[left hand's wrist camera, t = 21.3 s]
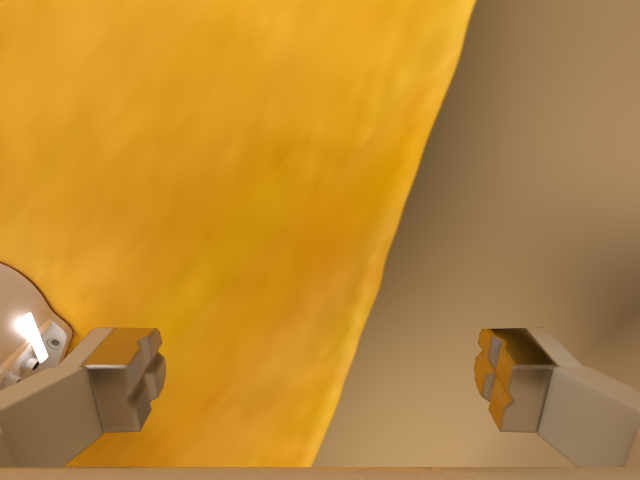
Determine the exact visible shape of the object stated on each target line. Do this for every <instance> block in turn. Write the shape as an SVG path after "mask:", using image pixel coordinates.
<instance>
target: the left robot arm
mask: <svg viewBox="0 0 640 480" xmlns="http://www.w3.org/2000/svg"><path fill="white" fill-rule="evenodd" d="M72 335H73V332H72V330H71V328H70V327H69V326H68V324H66V323H65V322H64V321H63V320H62V319H61V318H60V317H58V316H57V315H56V314H54V313H53V311H52V310H51V309H50V307H49V306H48V304H47V302H46V301H45V299H44V297H43V296H42V295H41V293H40V292H39V291H38V289H37V288H36V287H35V286H34V285H33V284H32V283H31V282H30V281H29V280H28V279H26V278H25V277H24V276H23V275H21V274H20V273H18V272H17V271H15V270H14V269H12V268H10V267H8V266H6V265H4V264H2V263H0V480H640V391H639V390H637V389H635V388H633V387H631V386H629V385H627V384H625V383H623V382H620V381H618V380H616V379H614V378H612V377H610V376H608V375H606V374H603V373H601V372H599V371H597V370H595V369H593V368H591V367H583V366H582V365H581V364H580V363H579V362H578V361H577V360H576V359H575V358H574V357H573V356H572V355H571V354H570V353H569V352H568V350H567V349H566V348H565V347H564V346H563V345H562V344H561V343H560V342H559V341H558V340H557V339H556V338H555V337H554V336H553V335H552V334H551V333H550V332H549V331H548V329H545V328H543V327H534V328H507V329H482V330H481V332H480V335H479V340H478V344H479V346H480V347H481V349H482V352H481V353H480V354H479V355H478V356H477V357H476V358H475V366H474V374H475V382H476V385H477V389H478V391H479V393H480V395H481V396H482V397H483V398H485V399H486V400H488V401H489V402H490V404H489V412H490V414H491V416H492V417H493V419H494V421H495V423H496V425H497V427H498V429H499V431H500V432H529V433H537V435H539V436H540V437H541V438H542V439H543V440H545V441H546V442H547V443H548V444H550V445H551V446H552V447H553V448H554V449H556V450H557V451H558V452H559V453H561V454H562V455H563V456H564V457H566V458H567V459H568V460H569V461H570V462H572V463H573V464H574V465H575V466H577V467H64V466H65V465H66V464H67V463H68V462H70V461H71V460H72V459H73V458H75V457H76V456H77V455H78V454H80V453H81V452H82V451H83V450H84V449H86V448H87V447H88V446H89V445H91V444H92V443H93V442H94V441H96V440H97V439H98V438H99V437H101V436H102V435H103V433H111V432H140V431H141V429H142V427H143V425H144V423H145V421H146V419H147V418H148V416H149V414H150V412H151V404H150V402H151V401H152V400H154V399H155V398H157V397H158V396H159V395H160V393H161V391H162V388H163V385H164V381H165V376H166V365H165V358H164V357H163V356H162V355H161V354H160V353H159V352H158V349H159V347H160V346H161V344H162V340H161V335H160V332H159V331H158V330H157V329H156V328H115V327H105V328H95V329H93V330H92V331H91V332H90V333H89V334H88V335H87V336H86V337H85V338H84V339H83V340H82V341H81V342H80V343H79V344H78V345H77V346H76V347H75V348H74V349H73V351H72V352H71V353H70V354H69V355H68V356H67V357H66V358H65V359H64V357H65V354H66V351H67V349H68V346H69V344H70V341H71V338H72ZM56 340H57V341H58V342H57V341H56ZM63 359H64V360H63Z"/></svg>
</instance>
